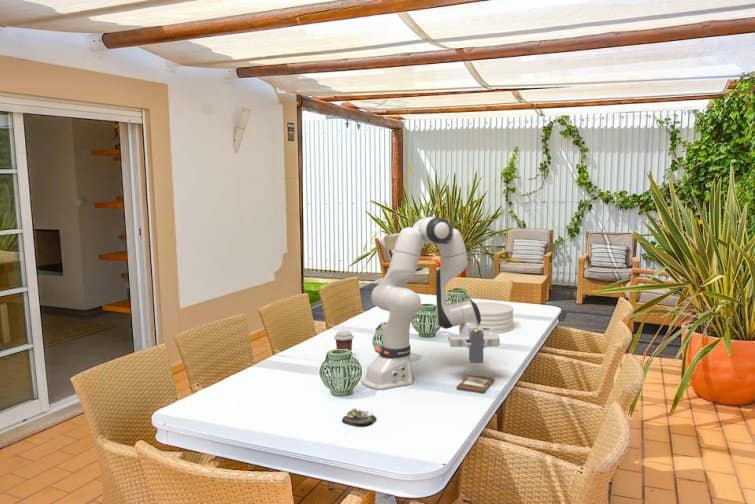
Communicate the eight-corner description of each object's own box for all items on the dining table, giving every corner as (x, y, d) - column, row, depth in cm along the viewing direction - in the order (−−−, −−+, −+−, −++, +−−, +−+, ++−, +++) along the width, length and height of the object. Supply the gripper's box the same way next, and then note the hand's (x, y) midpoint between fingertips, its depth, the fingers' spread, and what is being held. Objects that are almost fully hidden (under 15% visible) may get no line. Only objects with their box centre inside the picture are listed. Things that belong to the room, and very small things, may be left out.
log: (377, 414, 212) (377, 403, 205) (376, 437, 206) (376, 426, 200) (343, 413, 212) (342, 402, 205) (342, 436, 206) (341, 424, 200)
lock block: (470, 363, 235) (470, 331, 234) (469, 359, 240) (469, 328, 239) (483, 363, 235) (483, 331, 234) (481, 359, 240) (481, 327, 238)
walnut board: (483, 393, 229) (483, 390, 229) (456, 389, 234) (456, 386, 234) (494, 380, 244) (494, 377, 244) (468, 377, 248) (468, 373, 248)
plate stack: (502, 336, 311) (502, 315, 309) (453, 330, 325) (453, 309, 324) (519, 325, 334) (520, 305, 333) (473, 319, 349) (473, 300, 347)
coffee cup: (341, 353, 284) (340, 329, 283) (357, 356, 280) (357, 331, 278) (330, 359, 276) (330, 334, 275) (347, 361, 272) (347, 336, 271)
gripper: (447, 329, 250) (450, 338, 236) (496, 329, 249) (502, 338, 235) (447, 344, 251) (450, 354, 237) (496, 343, 250) (501, 353, 236)
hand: (476, 346), depth 236 cm, fingers closed on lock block, 5 cm apart
